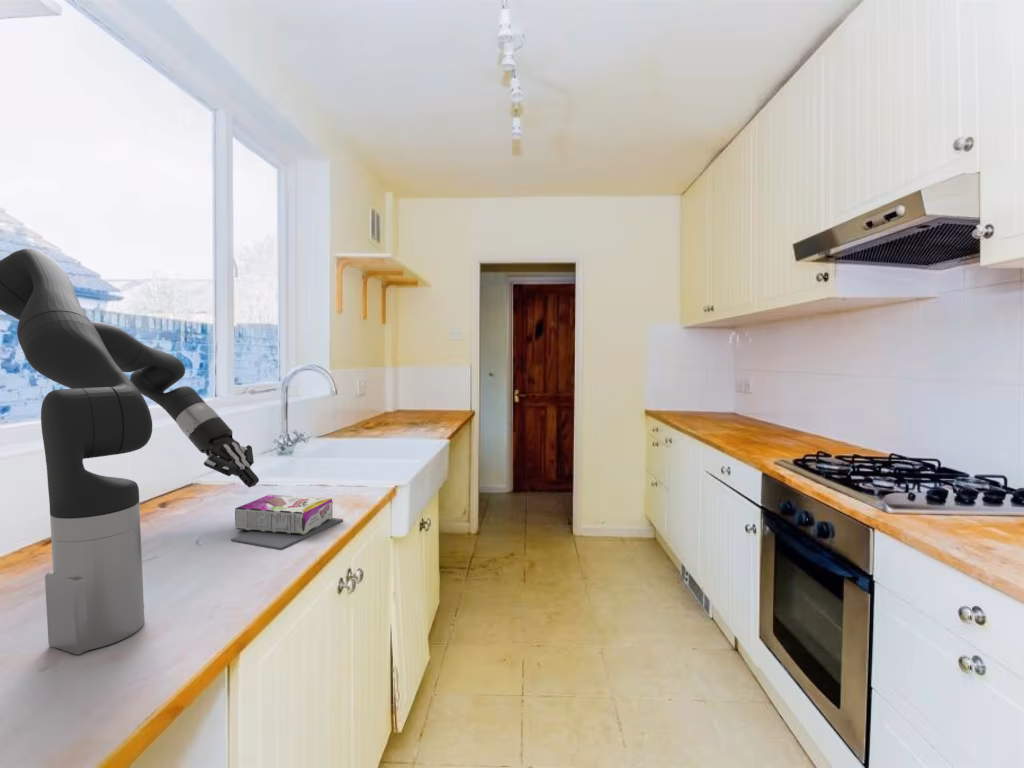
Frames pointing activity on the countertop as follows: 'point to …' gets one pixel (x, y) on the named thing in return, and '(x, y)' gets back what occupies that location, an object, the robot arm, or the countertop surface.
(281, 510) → the candy bar box
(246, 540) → the mat
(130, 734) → the countertop surface
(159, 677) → the countertop surface
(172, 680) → the countertop surface
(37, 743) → the countertop surface
